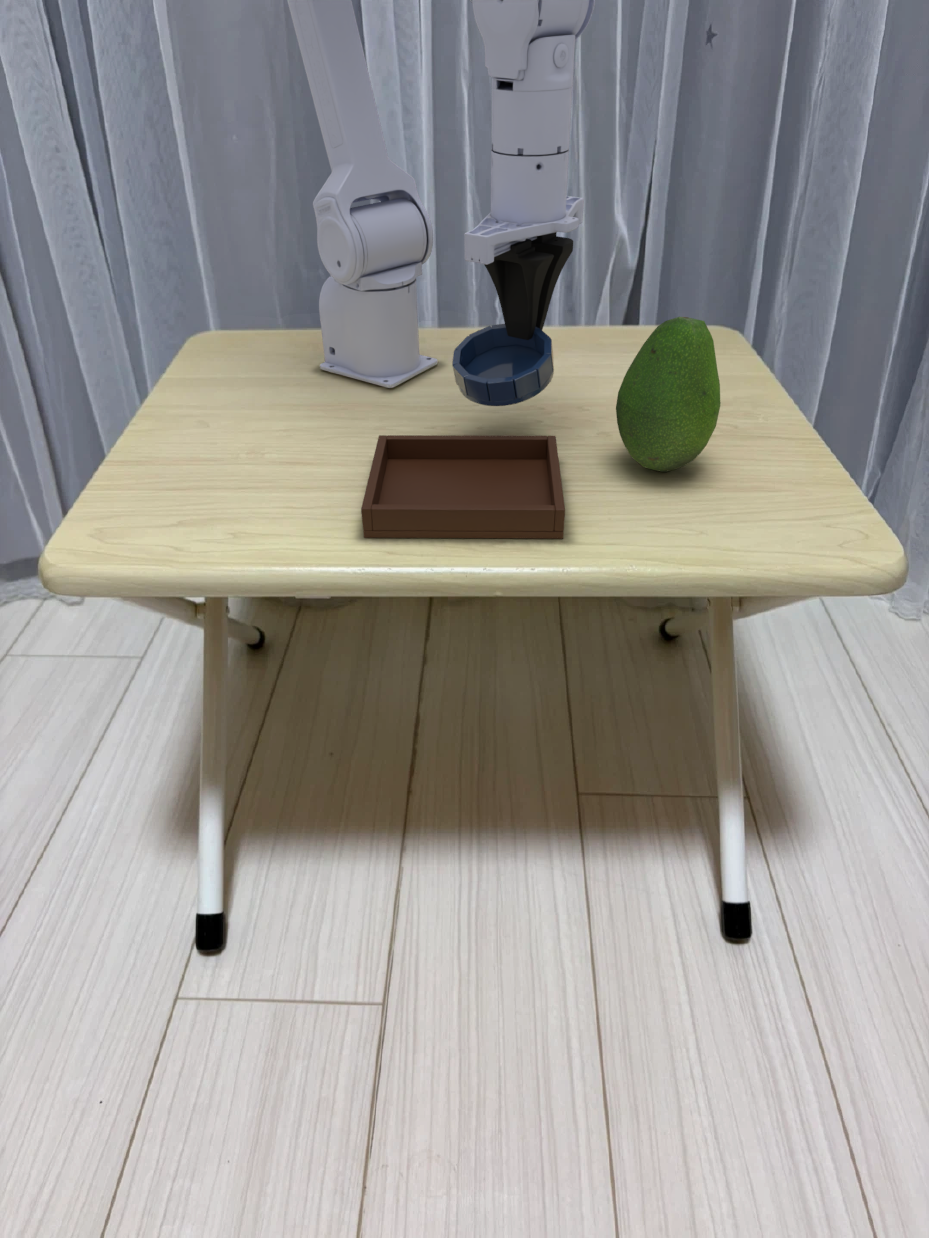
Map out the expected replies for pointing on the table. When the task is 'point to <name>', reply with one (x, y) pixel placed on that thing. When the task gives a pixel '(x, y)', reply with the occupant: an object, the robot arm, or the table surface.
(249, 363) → the table surface
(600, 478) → the table surface
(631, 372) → the fruit
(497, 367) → the blue faceted bowl
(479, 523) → the tray
